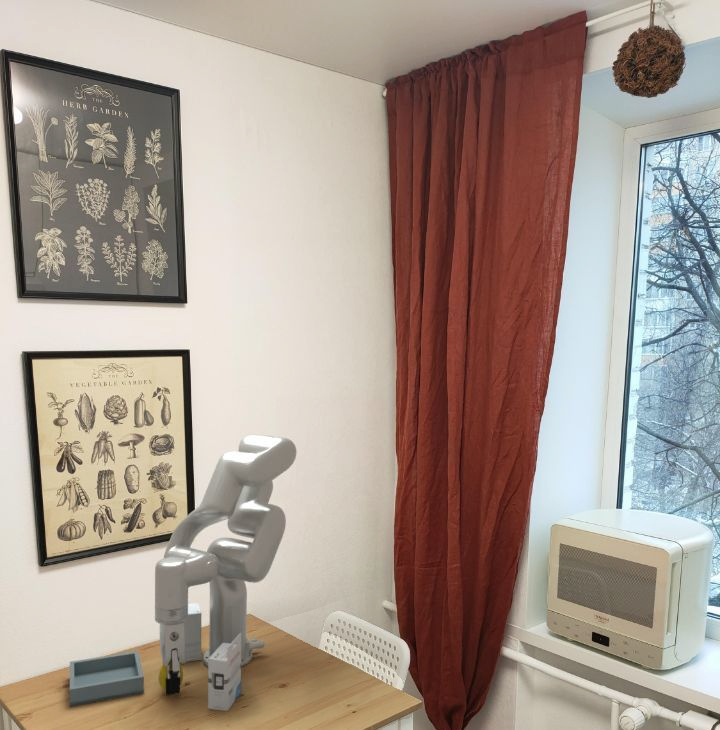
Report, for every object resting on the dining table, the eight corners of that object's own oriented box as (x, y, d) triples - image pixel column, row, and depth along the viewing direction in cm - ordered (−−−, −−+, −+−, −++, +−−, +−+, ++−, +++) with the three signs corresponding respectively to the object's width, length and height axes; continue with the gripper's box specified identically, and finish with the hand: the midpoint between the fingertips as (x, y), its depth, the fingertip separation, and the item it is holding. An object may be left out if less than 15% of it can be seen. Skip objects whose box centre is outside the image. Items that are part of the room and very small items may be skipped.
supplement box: (198, 647, 183) (199, 601, 182) (201, 660, 176) (202, 612, 175) (170, 651, 180) (170, 604, 180) (172, 664, 173) (172, 615, 173)
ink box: (222, 690, 161) (222, 629, 161) (241, 692, 160) (242, 631, 160) (207, 709, 153) (207, 645, 152) (227, 712, 152) (228, 647, 151)
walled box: (138, 666, 172) (138, 650, 172) (143, 693, 159) (143, 676, 159) (69, 677, 166) (69, 661, 165) (69, 706, 153) (69, 689, 153)
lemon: (161, 701, 156) (161, 667, 156) (156, 689, 161) (156, 656, 160) (185, 695, 158) (185, 662, 158) (180, 684, 163) (180, 652, 163)
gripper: (193, 623, 152) (193, 702, 153) (182, 596, 168) (181, 667, 169) (159, 628, 149) (158, 709, 150) (150, 600, 165) (150, 673, 166)
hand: (171, 686), depth 160 cm, fingers closed on lemon, 5 cm apart
